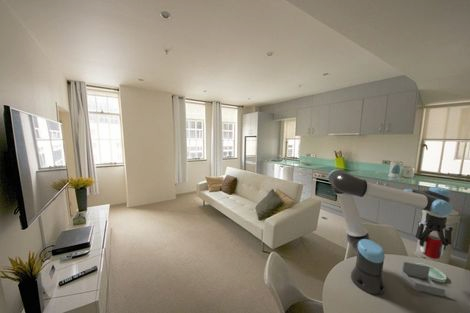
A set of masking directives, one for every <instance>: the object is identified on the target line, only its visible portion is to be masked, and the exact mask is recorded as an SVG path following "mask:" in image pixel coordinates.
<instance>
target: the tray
mask: <svg viewBox="0 0 470 313" xmlns="http://www.w3.org/2000/svg"><path fill="white" fill-rule="evenodd" d="M415 263H416V262H415ZM416 264H421V265H427V266H429V267H430V269H429V275H428V278H429V279H430V280H431V281H432V282H437V283H446V282H447V275H446V274H445V273H444V272H442V270H440V269H438V268H436V267H434V266H431V265H429V264H426V263H422V262H417V263H416Z"/></svg>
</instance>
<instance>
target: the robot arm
mask: <svg viewBox="0 0 470 313" xmlns="http://www.w3.org/2000/svg"><path fill="white" fill-rule="evenodd" d="M327 179H328V182H329V183H330V185H331V188H332V192H333V193H334V194H335V195H336V196H337V199H338V202H339V205H340V208H341V211H342V212H341V213H342V215H343V218H344V220H345V225H346V227H347V228H346V230H345V233H346V239H347V242H348V244H349V245H350V247H351V248H352V250H353V251H354V254H355V255H356V256H355V257H356V260H355V266H354V267H353V268H352V270H351V273H350V280H351V282H353V284H354V285H355V286H356V287H357V288H359V289H360V290H362V291H364V292H366V293H368V294H370V295H374V296H379V295H383V294H384V292H385V283H384V280H383V269H384V261H385V259H386V258H385V257H386V255H385V250H384V248H383V246H381V245H380V244H379V243H377V242H375V241H373V240H371V237H370V235H369V232H368V230H367V228H365V227H364V225H363V222H362V218H361V215H360V212H359V208H358V205H357V203H356V199H355V197H361V198H363V197H367V198H372V199H376V200H380V201H381V200H382V201H385V202H388V203H393V204H398V205H402V206H405V207H410V208H415V209H419V210H422V211H426V214H425V221H424V222H420V221H418V222H417V225H418V226H417V230H416V233H415V238H416V239H417V240H419V242H418V244H419V246H420V248H419V250H420V252H423V253H425V249H426V242H425V240H426V239H427V237H428V236H429V234H431V233H433V232H436V233H437V236H438V237H440V238H441V241H442V247H441V253H440V257H442V256H443V255H444V250H446V246H447V247H448V246H449V245H452V232H453V230H454V228H453V227H452V226H450V225H446V224H447V221H448V220H447V219H448V218H447V217H448V215H450V214H452V212H453V206H452V205H451V203H450V201H451V190H449V188H445V187H441V186H439V187H438V186H430V187H429V189H428V190H427V189H426V190H425V189H424V190H423V189H410V188H409V189H408V188H405V189H399V188H394V187H389V186H385V185H380V184H376V183H372V182H368V180H366V179H361V178H359V177H356V176H354V175H353V174H351V173H350V172H347V171H346V170H345V169H340V168H338V169H333V170H331V171H330V172H329V174H328V178H327ZM443 230H444V231H443ZM423 253H422V254H423Z"/></svg>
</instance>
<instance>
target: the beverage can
mask: <svg viewBox="0 0 470 313" xmlns="http://www.w3.org/2000/svg"><path fill="white" fill-rule="evenodd" d="M425 242H426V249H425V253H423V252H422V251H421V252H422V254H423V255H425V256H426V258H430V259H433V260H439V259H440V258H441V255H440V253H441V247H442V241H441V238H440V237H439V236H438V235H436V234H433V233H432V234H431V233H430V234H429V236H428V237H427V239H426V240H425Z"/></svg>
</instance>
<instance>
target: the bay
mask: <svg viewBox="0 0 470 313" xmlns="http://www.w3.org/2000/svg"><path fill="white" fill-rule="evenodd" d="M427 265H428V264H427ZM427 265H421V264H416V262H409V261H406V260H402V266H401V272H400V273H401V274H402V276H404V278H405V279H406V281H408V283H409V284H410V285H411V287H412V288H413V289H414V290H415V291H419V292H422V293H427V294H432V295H436V296H440V297H445V293H446V289H445V288H444V287H440V286H437V284H436V283H435V282H434V281H433V280H431V279H429V278H428V275H429V269H430V267H429V266H430V265H429V266H427ZM409 276H410V277H415V278H419V279H424V280H426V281H427V282H428V284H426V283H422V282H417V281H413V280H412V279H411V278H410V277H409Z"/></svg>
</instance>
